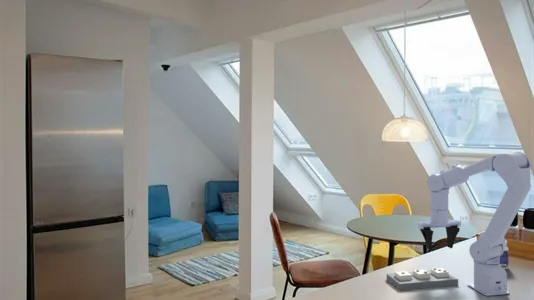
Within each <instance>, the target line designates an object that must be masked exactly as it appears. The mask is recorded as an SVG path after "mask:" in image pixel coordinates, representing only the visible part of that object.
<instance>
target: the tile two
mask: <svg viewBox="0 0 534 300" xmlns="http://www.w3.org/2000/svg"><path fill="white" fill-rule="evenodd" d="M427 271H428V270H426V269H415V270H414V269H413V270H412V272H413V276H414V277H416V278H417V279H428V278H430V273H429V272H427Z"/></svg>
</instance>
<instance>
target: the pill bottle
mask: <svg viewBox="0 0 534 300" xmlns="http://www.w3.org/2000/svg"><path fill="white" fill-rule="evenodd" d="M507 245H508V240H506V242H505V243H504V252H503V254H502V255H501V256H500V262H499V263H500V265H501V267H502V268H504V269H505V270H507V269H509V256H510V255H509V254H510V252H509V247H508V246H507Z"/></svg>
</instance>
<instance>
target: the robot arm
mask: <svg viewBox="0 0 534 300" xmlns="http://www.w3.org/2000/svg"><path fill="white" fill-rule="evenodd" d="M532 167H533V166H532V163H531V162H530V159H529V158H528V156H527V155H526V154H525V153H523V152H520V151H515V152H509V153H505V152H503V153H498V154H496V155H490V156H487V157H486V158H483V159H480V160H478V161H477V162H474V163H471V164H469V165H467V166H463V165H457V164H454V165H451V168H450V169H447V170H440V173H437V174H436V173H432V174H431V175H430V176H428V177H427V179H426V186H427V188H428V189H429V192H430V193H429V194H430V195H429V197H430V200H429V201H430V203H429V204H430V206H429V207H430V220H425V221H420V222H418V223H417V224H418V225H417V227H418V229H419V231H420V232H421V234H422V237H423V239H424V242H425V245H426V249H427V250H430V251H431V250H433V235H434V230H432V229H435V228H445V231H446V246H447V248H449V249H453V247H454V244H455V240H456V237H457V236H458V234H459V233H460V227H461V225H462V224H461V223H462V222H461V220H458V219H449V194H450V189H451V188H453V187H456V186H458V185H462V184H464V183H467V182H468V181H469V179H470V177H472V176H475V175H478V174H480V173H483V172H486V171H490V172H494V171H495V173H497V174H498V176H499V177H500V178H501V179H502V180H503V181H504V183H505V184H506V186H507V187H506V188H507V189H506V191H505V193H504V194H503V197H502V198H501V201H500V202H499V204H498V206H497V207H496V210H495V212H494V214H493V216H492V217H491V220H490V221H489V223H488V226H486V229H485V230H484V232H482V233H481V234H480V235H479V236H478V237H477V239H476V241H475V242H473V243H471V245H469V246H470V247H469V248H468V249H469V250H468V251H469V254H470V255H469V256H470V257H471V259H472V260H473V283H472V282H471V283H467V286H468V287H470V288H472V289H474V290H475V291H477V292H479V293H480V294H483V295H484V296H487V297H488V296H498V295H499V296H500V295H509V294H510V291H508V274H507V271H506V269H504V268H502V267H501V265H500V263H499V262H500V256H501V255H502V254H503V252H504V243H505V242H506V241H507V240H506V238H505V236H506V234H507V232H508V231H509V229H510V227H511V225H512V223H513V222H514V219H515V218H516V216H517V215H518V212H519V210H520V208H521V206H522V205H523V203H524V201H525V199H526V198H527V196H528V193H529V192H530V190H531V186H532V185H531V169H532Z"/></svg>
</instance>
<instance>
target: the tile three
mask: <svg viewBox="0 0 534 300" xmlns="http://www.w3.org/2000/svg"><path fill="white" fill-rule="evenodd" d="M430 270H431V274H432V275H433V276H435V277H437V278H440V277H449V274H450V273H449V271H448V270H446V269H445V268H442V267H441V268H431V269H430Z"/></svg>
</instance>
